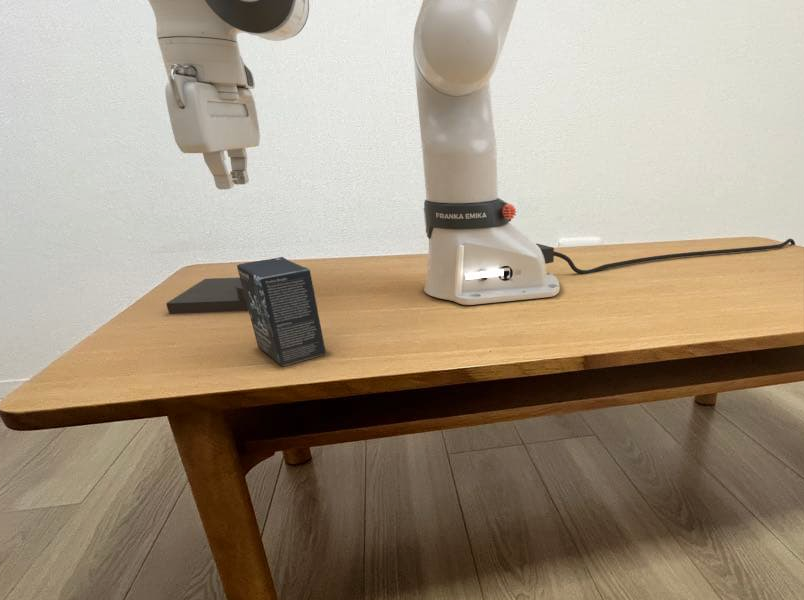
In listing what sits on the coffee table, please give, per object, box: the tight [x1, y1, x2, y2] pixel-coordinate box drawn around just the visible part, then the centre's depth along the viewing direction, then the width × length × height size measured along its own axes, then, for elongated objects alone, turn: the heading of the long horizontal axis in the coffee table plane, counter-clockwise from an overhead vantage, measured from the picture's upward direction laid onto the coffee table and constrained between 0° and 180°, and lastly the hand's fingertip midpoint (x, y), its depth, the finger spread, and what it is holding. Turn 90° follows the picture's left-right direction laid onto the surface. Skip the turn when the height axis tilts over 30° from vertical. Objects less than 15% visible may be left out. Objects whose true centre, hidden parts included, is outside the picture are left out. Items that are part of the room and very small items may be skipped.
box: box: [236, 256, 327, 367], centre depth 64 cm, size 8×6×11 cm
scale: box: [165, 277, 249, 315], centre depth 85 cm, size 16×14×4 cm
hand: (233, 186), depth 75 cm, fingers open, 5 cm apart
